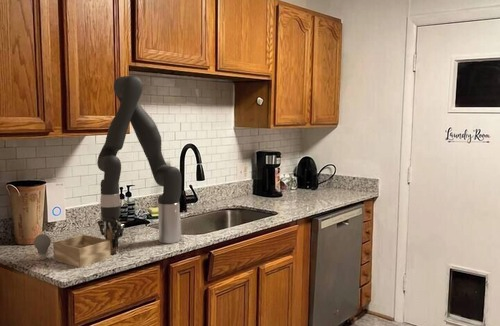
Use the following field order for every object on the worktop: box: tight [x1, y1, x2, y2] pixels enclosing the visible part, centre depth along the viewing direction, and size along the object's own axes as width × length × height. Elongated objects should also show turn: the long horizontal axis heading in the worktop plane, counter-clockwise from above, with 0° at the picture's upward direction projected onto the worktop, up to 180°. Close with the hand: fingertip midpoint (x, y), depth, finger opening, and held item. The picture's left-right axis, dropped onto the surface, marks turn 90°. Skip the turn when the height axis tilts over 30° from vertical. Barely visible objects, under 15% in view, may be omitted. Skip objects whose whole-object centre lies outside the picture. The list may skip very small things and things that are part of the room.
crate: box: [52, 234, 112, 268], centre depth 185 cm, size 14×16×7 cm
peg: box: [107, 229, 118, 255], centre depth 192 cm, size 3×3×10 cm
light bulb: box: [33, 233, 52, 261], centre depth 184 cm, size 6×6×10 cm
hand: (111, 246), depth 192 cm, fingers closed on peg, 3 cm apart
